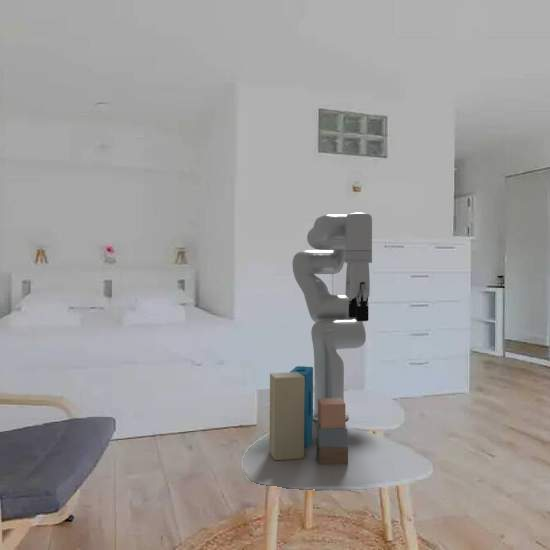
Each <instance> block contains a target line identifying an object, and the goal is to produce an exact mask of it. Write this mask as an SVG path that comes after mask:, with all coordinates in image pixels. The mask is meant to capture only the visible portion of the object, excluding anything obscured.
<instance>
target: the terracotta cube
mask: <svg viewBox="0 0 550 550" xmlns="http://www.w3.org/2000/svg"><path fill="white" fill-rule="evenodd" d="M345 412H346V402H345V401H344V402H343V400H342V399H341V398H318V421H317V424H318V423H319V425H320V427H321V428H322V429H323V428H345V424H346V420H345Z"/></svg>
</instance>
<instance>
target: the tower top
mask: <svg viewBox="0 0 550 550" xmlns="http://www.w3.org/2000/svg"><path fill="white" fill-rule="evenodd" d="M317 438H318V444H319V447H347V446H348V427H347V424H346V423H345V428H323V429H322V428H321V427H320V425H319V423H318V422H317Z"/></svg>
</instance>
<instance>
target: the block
mask: <svg viewBox="0 0 550 550" xmlns="http://www.w3.org/2000/svg"><path fill="white" fill-rule="evenodd" d="M291 372H298V373H300V374H301V375H303V376H304V377H305V405H304V448H307V447H308V446H309V445H310V443H311V441H312V439H313V421H314V420H313V410H314V366H303V365H302V366H300V365H297V366H295V367H294V368H293V369H292V370H290V371H289V372H288V373H291Z"/></svg>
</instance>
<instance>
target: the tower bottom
mask: <svg viewBox="0 0 550 550" xmlns="http://www.w3.org/2000/svg"><path fill="white" fill-rule="evenodd" d="M316 458H317V460H318V464H319V465H320V466H340V465H341V466H343V465H345V466H346V465H349V445H347V447H319V444H318V437H316Z"/></svg>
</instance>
